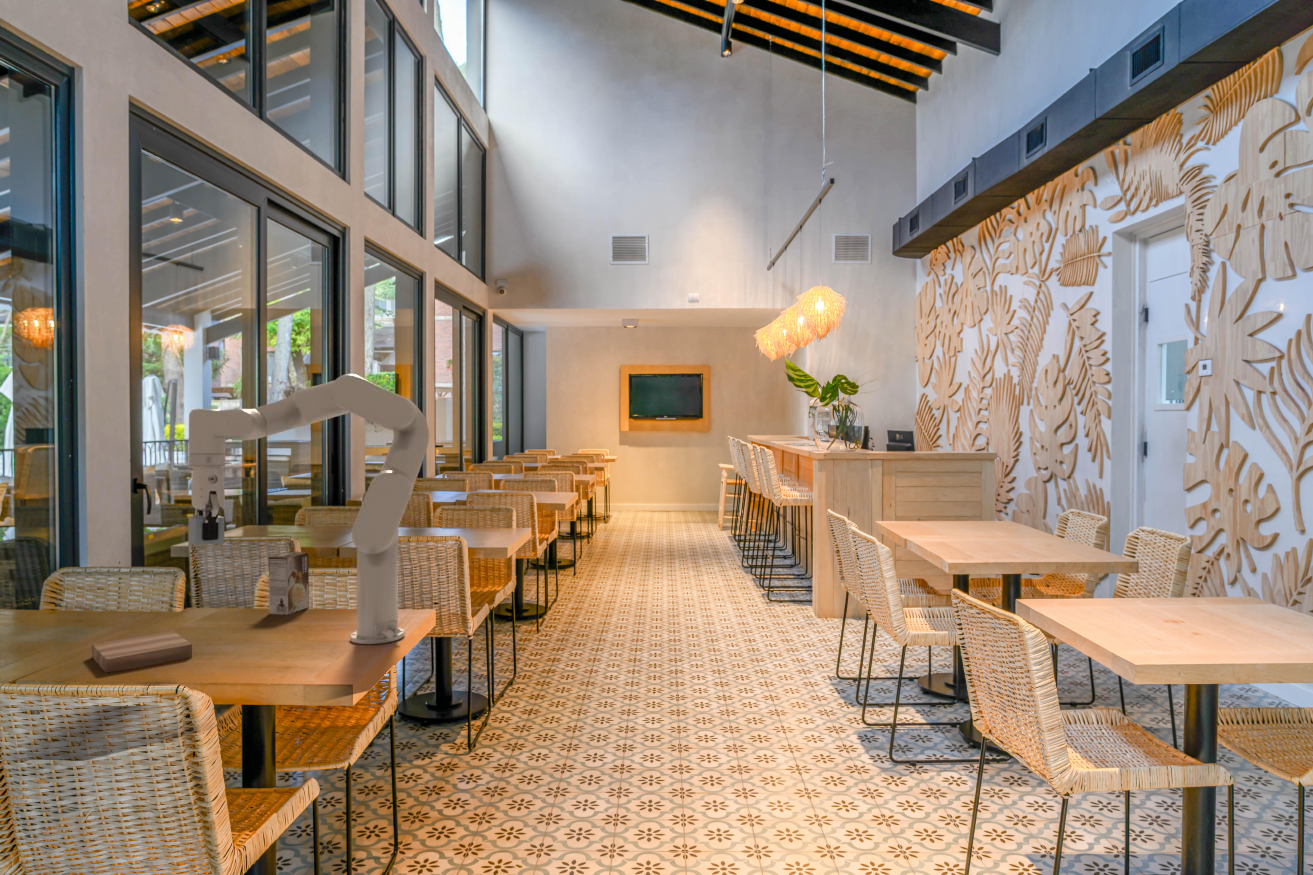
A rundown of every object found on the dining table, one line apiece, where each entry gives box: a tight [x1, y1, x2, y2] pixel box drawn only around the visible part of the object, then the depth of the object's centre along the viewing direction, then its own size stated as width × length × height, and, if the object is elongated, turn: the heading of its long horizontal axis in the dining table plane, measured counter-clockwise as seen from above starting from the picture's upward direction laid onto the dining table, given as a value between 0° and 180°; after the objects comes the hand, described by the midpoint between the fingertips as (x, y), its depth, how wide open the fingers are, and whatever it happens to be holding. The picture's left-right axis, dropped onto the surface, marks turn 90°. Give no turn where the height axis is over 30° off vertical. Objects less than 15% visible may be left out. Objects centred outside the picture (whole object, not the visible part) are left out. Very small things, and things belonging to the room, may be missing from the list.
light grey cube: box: [187, 515, 225, 546], centre depth 181 cm, size 6×6×6 cm
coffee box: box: [268, 551, 310, 615], centre depth 219 cm, size 9×6×16 cm
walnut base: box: [91, 630, 193, 673], centre depth 175 cm, size 16×16×3 cm
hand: (206, 537), depth 181 cm, fingers closed on light grey cube, 6 cm apart
